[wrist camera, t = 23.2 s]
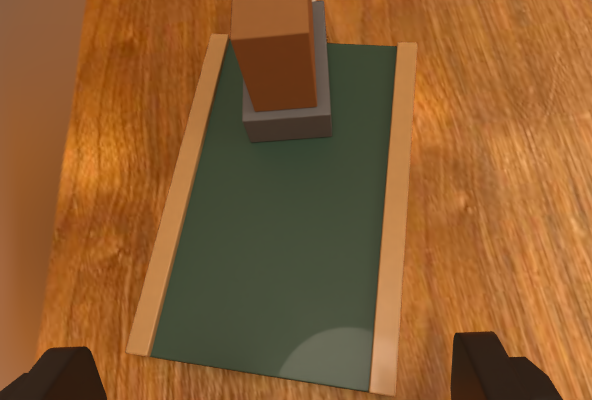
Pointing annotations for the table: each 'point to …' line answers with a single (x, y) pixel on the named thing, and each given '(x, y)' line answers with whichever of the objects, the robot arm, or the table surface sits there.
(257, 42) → the eraser
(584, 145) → the table surface
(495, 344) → the robot arm
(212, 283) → the chalkboard
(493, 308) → the table surface
